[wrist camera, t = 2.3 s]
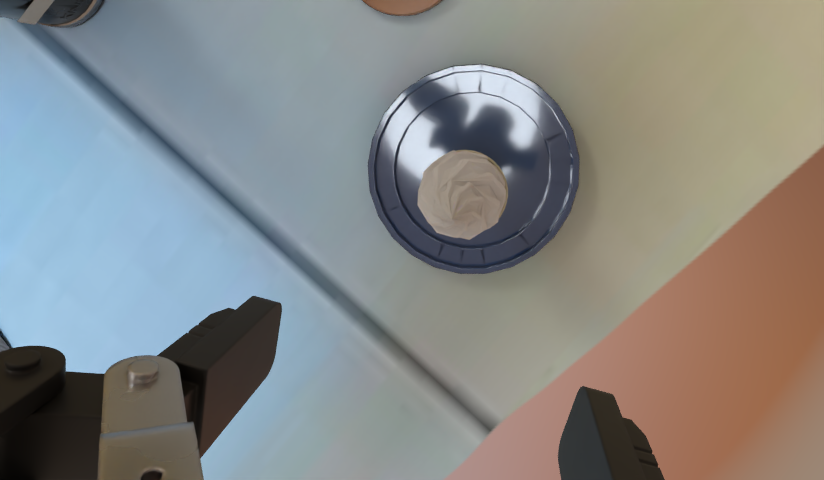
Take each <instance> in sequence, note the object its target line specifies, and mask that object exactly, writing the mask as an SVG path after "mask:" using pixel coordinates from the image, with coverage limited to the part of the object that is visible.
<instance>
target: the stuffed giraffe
mask: <svg viewBox="0 0 824 480" xmlns="http://www.w3.org/2000/svg"><path fill="white" fill-rule="evenodd" d="M8 349H10V348H9V347H8V345H7V344H6V343H5V342H4V340H3V339H2V338H1V337H0V352H1V351H4V350H8Z"/></svg>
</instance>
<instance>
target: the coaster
mask: <svg viewBox="0 0 824 480" xmlns="http://www.w3.org/2000/svg"><path fill="white" fill-rule="evenodd" d="M362 1H363V2H365V3H366V4H367V5H369V6H370V7H372V8H374V9H375V10H377V11H380V12H382V13H385V14H389V15H394V16H410V15H416V14H419V13H422V12H425V11H427V10H429V9H431V8H433V7H434V6H436V5H437V4H439V3H440V2H441V1H442V0H362Z"/></svg>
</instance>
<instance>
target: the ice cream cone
mask: <svg viewBox="0 0 824 480" xmlns="http://www.w3.org/2000/svg"><path fill="white" fill-rule="evenodd" d="M507 198H508V187H507V182H506V179H505V176H504V174H503V172H502V170H501V169H500V167H499V166H498V165H497V164H496V163H495V162H494V161H493V160H492V159H491V158H489V157H488V156H486V155H484V154H482V153H480V152H476V151H472V150H457V151H455V150H453V151H450V152H449V153H447V154H445V155H443V156H441V157H440V158H438V159H437V160H436V161H434V162H433V163H432V164H431V165H430V166H429V167H428V168H427V169H426V170H425V171H424V172H423V178H422V181H421V184H420V187H419V190H418V204H417V205H418V207H419V208H420V210H421V212H422V213H423V215H424V217H425V218H426V220H427V222H428V223H429V224H430V225H431V226H432V227H433V229H434V230H435V231H436V233H439V234H443V235H446V236H450V237H454V238H464V239H468V240H470V239H472V238H473V237H475V236H476V235H478V234H480V233H481V232H483V231H484V230H486V229H489V228H491V227H492V226H493V225H495V224H496V223H497V222H498V220H499V218H500V216H501V215H502V213H503V211H504V209H505V206H506V203H507Z"/></svg>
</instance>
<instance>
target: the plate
mask: <svg viewBox="0 0 824 480" xmlns="http://www.w3.org/2000/svg"><path fill="white" fill-rule="evenodd" d="M453 150H455V151H457V150H472V151H476V152H480V153H482V154H484V155H486V156H488V157H489V158H491V159H492V160H493V161H494V162H495V163H496V164H497V165H498V166H499V167H500V169H501V170H502V172H503V174H504V176H505V179H506V182H507V187H508V198H507V203H506V206H505V209H504V211H503V213H502V215H501V216H500V218H499V220H498V222H497V223H496V224H495V225H493V226H492V227H491V228H489V229H486V230H484V231H483V232H481V233H480V234H478V235H476V236H475V237H473V238H472V239H470V240H468V239H464V238H454V237H450V236H446V235H443V234H439V233H436V231H435V230H434V229H433V227H432V226H431V225H430V224H429V223H428V222H427V220H426V218H425V217H424V215H423V213H422V212H421V210H420V208H419V207H418V205H417V204H418V190H419V187H420V184H421V181H422V178H423V172H424V171H425V170H426V169H427V168H428V167H429V166H430V165H431V164H432V163H433V162H434V161H436V160H437V159H438V158H440V157H441V156H443V155H445V154H447V153H449V152H450V151H453ZM368 174H369V187H370V193H371V196H372V199H373V202H374V205H375V208H376V211H377V214H378V216H379V218H380V219H381V221H382V222H383V224H384V225H385V227H386V228H387V230H388V231H389V233H390V234H391V236H392V237H393V238H394V239H395V240H396V241H397V242H398V243H399V244H400V245H401V246H402V247H403V248H405V249H406V250H407V251H408V252H409V253H410V254H411V255H413V256H414V257H416V258H418V259H420V260H422V261H424V262H426V263H427V264H429V265H431V266H433V267H436V268H439V269H443V270H447V271H451V272H455V273H460V274H485V273H490V272H494V271H498V270H502V269H506V268H510V267H513V266H515V265H517V264H518V263H520V262H522V261H524V260H526V259H528V258H530V257H531V256H533V255H535V254H536V253H537V252H538V251H540V250H541V249H542V248H543V247H544V246H545V245H546V244H547V243H548V242H549V241H550V240H551V239H552V238H554V237H555V235H556V234H557V232H558V231H559V229H560V228H561V226H562V225H563V223H564V221H565V220H566V218H567V217H568V215H569V214H570V211H571V208H572V205H573V202H574V198H575V195H576V192H577V189H578V185H579V154H578V150H577V146H576V141H575V137H574V133H573V130H572V128H571V126H570V124H569V122H568V121H567V119H566V117H565V115H564V114H563V112H562V110H561V108H560V107H559V105H558V104H557V103H556V102H555V101H554V100H553V99H552V98H551V97H550V96H549V95H548V94H547V93H546V92H545V91H544V90H543V89H542V88H541V87H540V86H539V85H538V84H536V83H535V82H533V81H531V80H529V79H527V78H525V77H523V76H521V75H519V74H518V73H516V72H514V71H512V70H509V69H504V68H499V67H494V66H490V65H485V64H473V65H458V66H451V67H448V68H446V69H443V70H440V71H437V72H434V73H431V74H429V75H426V76H424V77H423V78H421V79H420V80H418V81H417V82H416V83H414V84H413V85H411V86H410V87H408V88H407V89H406V90H404V91H403V92H402V93H401V94H400V95H399V96H398V97H397V99H396V100H395V101H394V102H393V103H392V105H391V106H390V107H389V108H388V109H387V111H386V112H385V114H384V115H383V117H382V119H381V121H380V123H379V125H378V128H377V130H376V132H375V134H374V136H373V139H372V144H371V150H370V155H369V161H368Z"/></svg>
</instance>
